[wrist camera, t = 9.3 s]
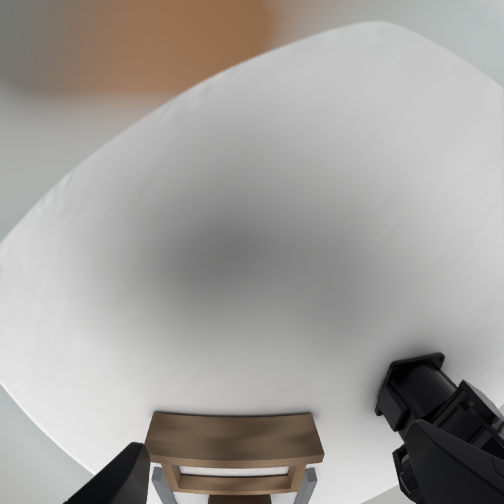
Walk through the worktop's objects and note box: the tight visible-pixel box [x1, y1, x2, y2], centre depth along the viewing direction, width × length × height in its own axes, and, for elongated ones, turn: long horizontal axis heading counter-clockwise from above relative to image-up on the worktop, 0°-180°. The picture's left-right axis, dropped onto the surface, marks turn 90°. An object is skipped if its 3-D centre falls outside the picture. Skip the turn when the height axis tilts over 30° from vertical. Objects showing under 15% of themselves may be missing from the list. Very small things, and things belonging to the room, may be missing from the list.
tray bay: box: [152, 467, 317, 504], centre depth 25 cm, size 18×12×2 cm
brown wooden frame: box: [144, 413, 325, 495], centre depth 21 cm, size 14×12×5 cm
